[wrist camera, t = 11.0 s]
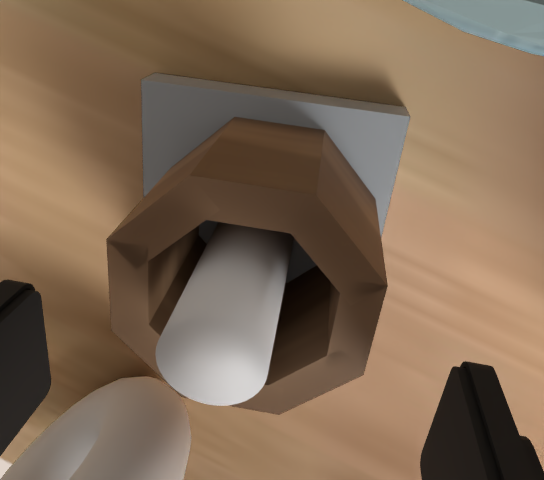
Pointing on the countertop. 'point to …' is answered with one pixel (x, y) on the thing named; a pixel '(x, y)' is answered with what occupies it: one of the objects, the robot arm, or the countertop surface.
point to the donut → (113, 437)
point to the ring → (271, 216)
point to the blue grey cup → (493, 20)
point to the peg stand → (241, 239)
